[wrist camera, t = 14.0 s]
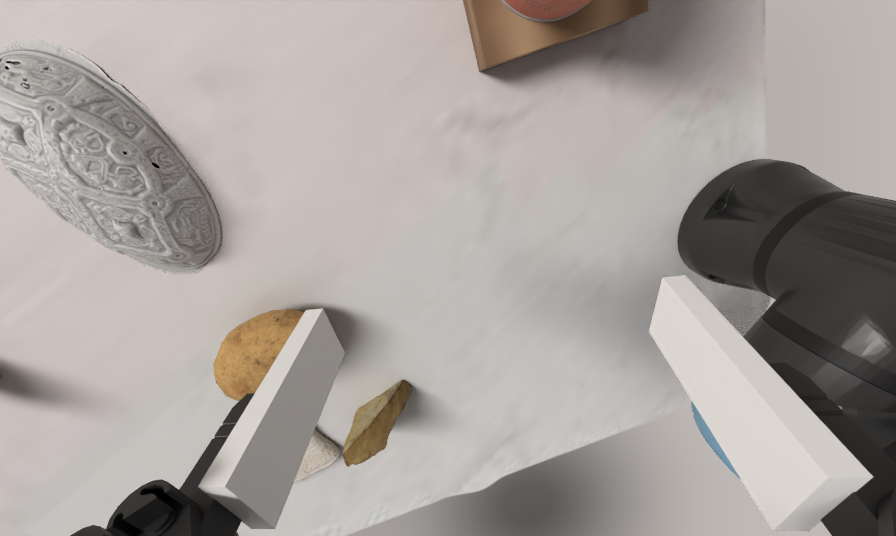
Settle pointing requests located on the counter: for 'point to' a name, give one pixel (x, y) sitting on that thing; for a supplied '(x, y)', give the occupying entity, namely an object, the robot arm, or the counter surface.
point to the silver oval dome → (102, 160)
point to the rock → (374, 424)
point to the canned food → (545, 8)
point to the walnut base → (537, 27)
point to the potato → (252, 351)
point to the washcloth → (317, 455)
